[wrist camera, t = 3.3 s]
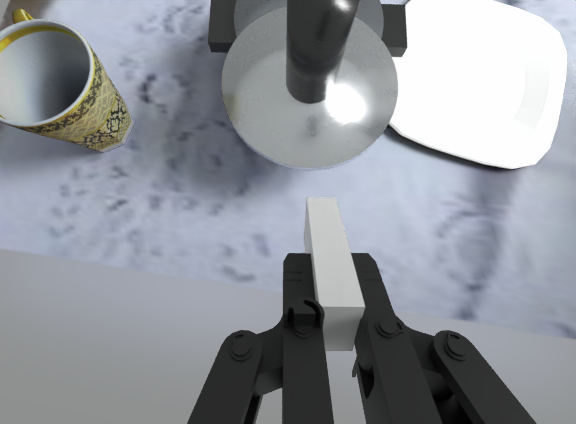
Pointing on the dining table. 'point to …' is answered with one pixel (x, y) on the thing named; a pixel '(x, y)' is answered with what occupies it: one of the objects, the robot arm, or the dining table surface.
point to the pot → (255, 3)
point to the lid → (309, 85)
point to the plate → (480, 81)
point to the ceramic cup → (58, 86)
